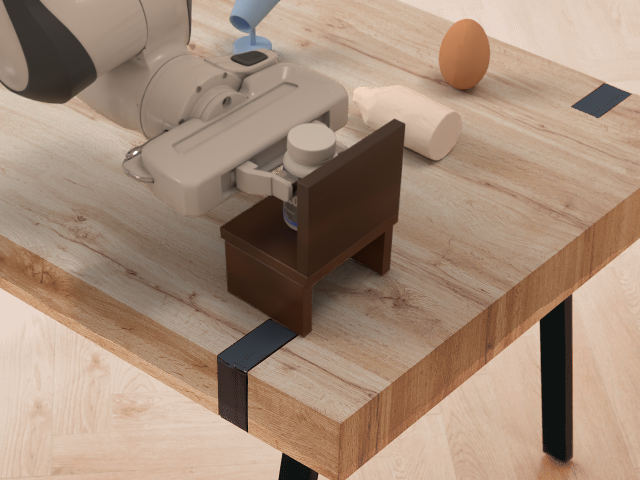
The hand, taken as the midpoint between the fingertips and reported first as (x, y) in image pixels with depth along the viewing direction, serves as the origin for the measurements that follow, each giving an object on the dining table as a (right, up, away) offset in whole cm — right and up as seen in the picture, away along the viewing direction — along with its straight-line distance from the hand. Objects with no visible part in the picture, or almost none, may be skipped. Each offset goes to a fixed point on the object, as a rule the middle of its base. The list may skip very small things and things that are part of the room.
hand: (319, 174), depth 89 cm
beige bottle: (+7, +7, +27) cm, 28 cm away
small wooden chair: (-1, -9, +8) cm, 12 cm away
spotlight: (-10, +18, +38) cm, 43 cm away
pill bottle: (-1, -4, +4) cm, 5 cm away
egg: (+14, +14, +35) cm, 40 cm away
